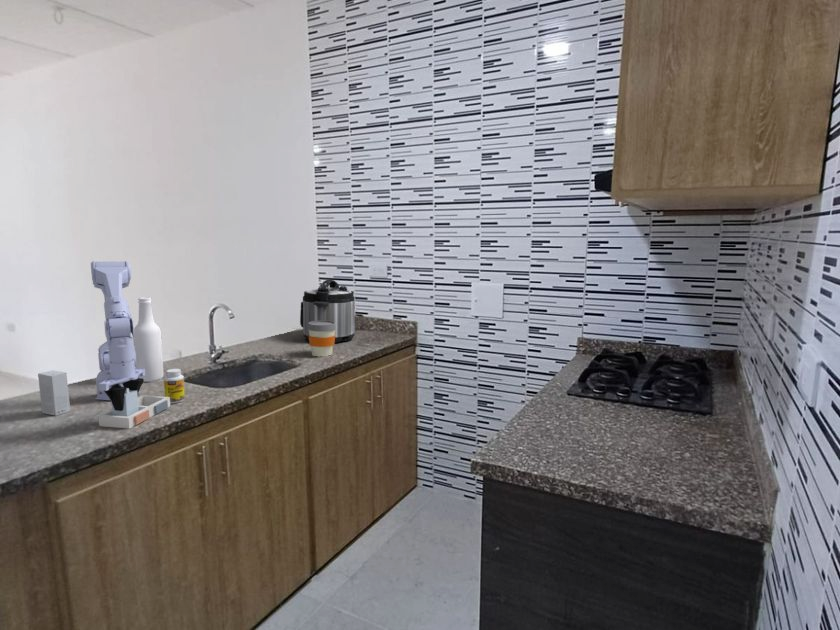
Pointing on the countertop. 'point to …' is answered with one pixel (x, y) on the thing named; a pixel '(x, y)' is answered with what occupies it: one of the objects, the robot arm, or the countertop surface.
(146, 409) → the white divided frame
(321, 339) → the reusable coffee cup
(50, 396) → the skincare box
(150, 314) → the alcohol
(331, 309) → the pressure cooker
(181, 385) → the supplement bottle
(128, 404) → the plug
